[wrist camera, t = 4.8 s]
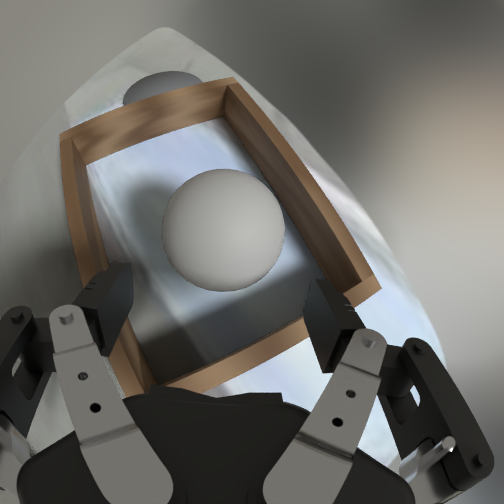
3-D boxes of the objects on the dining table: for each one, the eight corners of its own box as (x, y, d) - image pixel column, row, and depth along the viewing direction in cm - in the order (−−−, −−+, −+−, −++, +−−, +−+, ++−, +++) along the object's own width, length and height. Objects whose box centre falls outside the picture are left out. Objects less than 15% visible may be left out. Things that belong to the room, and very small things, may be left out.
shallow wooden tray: (152, 405, 17) (137, 418, 12) (74, 162, 23) (59, 134, 18) (352, 301, 22) (381, 288, 18) (229, 108, 28) (233, 77, 24)
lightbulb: (239, 326, 20) (271, 298, 10) (165, 292, 20) (123, 231, 10) (268, 255, 22) (316, 174, 12) (199, 226, 22) (196, 127, 12)
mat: (132, 130, 25) (132, 128, 25) (118, 87, 27) (118, 85, 27) (217, 104, 28) (217, 102, 27) (189, 67, 30) (189, 65, 30)
